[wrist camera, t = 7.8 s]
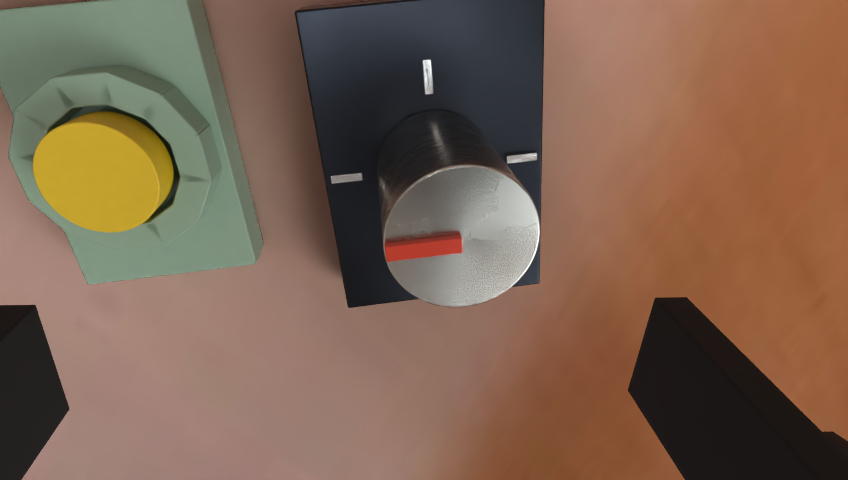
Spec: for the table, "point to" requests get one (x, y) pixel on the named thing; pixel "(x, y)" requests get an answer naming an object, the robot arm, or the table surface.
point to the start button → (103, 171)
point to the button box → (145, 102)
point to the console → (416, 104)
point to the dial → (452, 212)
